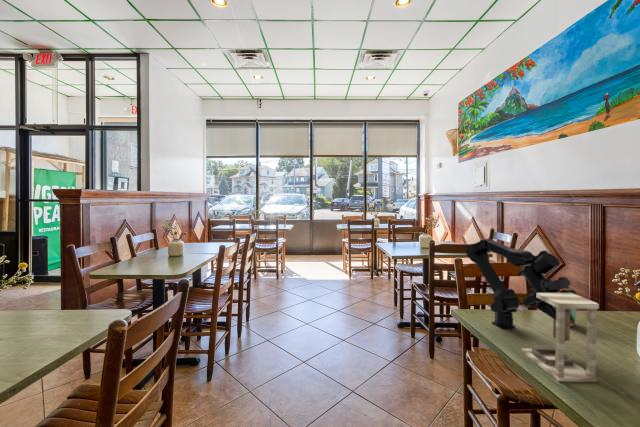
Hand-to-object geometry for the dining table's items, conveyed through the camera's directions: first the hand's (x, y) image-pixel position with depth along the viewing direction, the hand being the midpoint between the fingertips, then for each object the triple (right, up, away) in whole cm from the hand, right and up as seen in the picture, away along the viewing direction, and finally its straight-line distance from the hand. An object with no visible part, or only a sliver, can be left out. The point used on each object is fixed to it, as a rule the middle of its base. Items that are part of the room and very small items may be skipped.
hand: (565, 320), depth 105 cm
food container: (+23, -11, +27) cm, 37 cm away
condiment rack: (-7, -13, -5) cm, 15 cm away
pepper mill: (0, -6, +2) cm, 7 cm away
